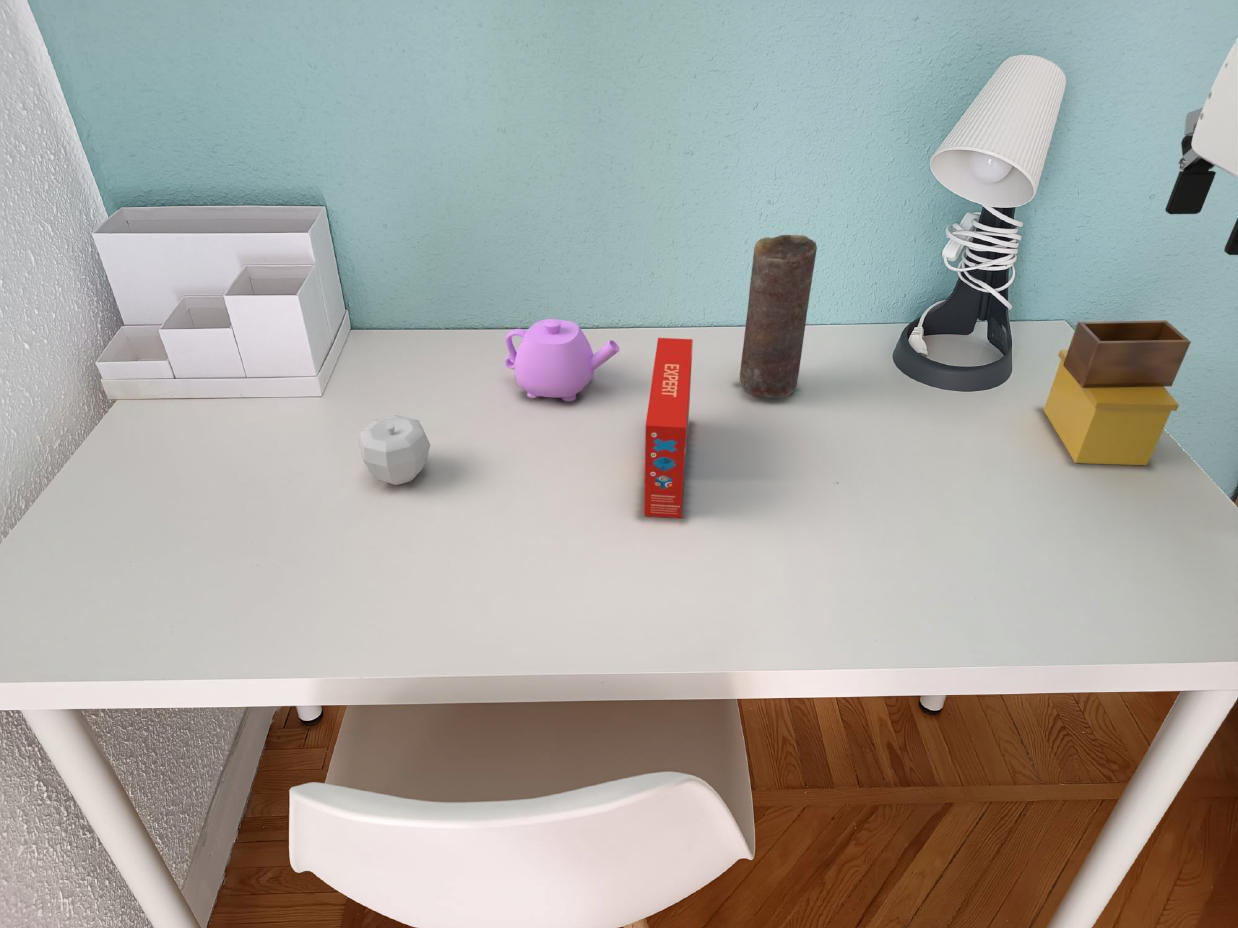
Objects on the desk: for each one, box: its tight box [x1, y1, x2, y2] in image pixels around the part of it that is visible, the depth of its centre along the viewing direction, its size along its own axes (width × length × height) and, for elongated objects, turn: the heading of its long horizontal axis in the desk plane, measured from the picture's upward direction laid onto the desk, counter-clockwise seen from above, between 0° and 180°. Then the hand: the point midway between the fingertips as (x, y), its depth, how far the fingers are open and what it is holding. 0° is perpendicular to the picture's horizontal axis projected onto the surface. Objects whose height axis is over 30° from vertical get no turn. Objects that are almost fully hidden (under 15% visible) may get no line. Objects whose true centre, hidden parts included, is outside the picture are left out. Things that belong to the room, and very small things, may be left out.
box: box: [1043, 349, 1180, 466], centre depth 101 cm, size 12×9×8 cm
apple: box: [357, 414, 431, 486], centre depth 96 cm, size 8×8×7 cm
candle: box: [739, 234, 818, 399], centre depth 106 cm, size 8×7×20 cm
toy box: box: [643, 337, 694, 519], centre depth 96 cm, size 18×4×12 cm, turn 174°
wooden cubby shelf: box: [1063, 320, 1192, 388], centre depth 97 cm, size 10×5×6 cm, turn 91°
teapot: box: [504, 318, 621, 402], centre depth 110 cm, size 10×15×9 cm
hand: (1210, 232), depth 81 cm, fingers open, 9 cm apart
